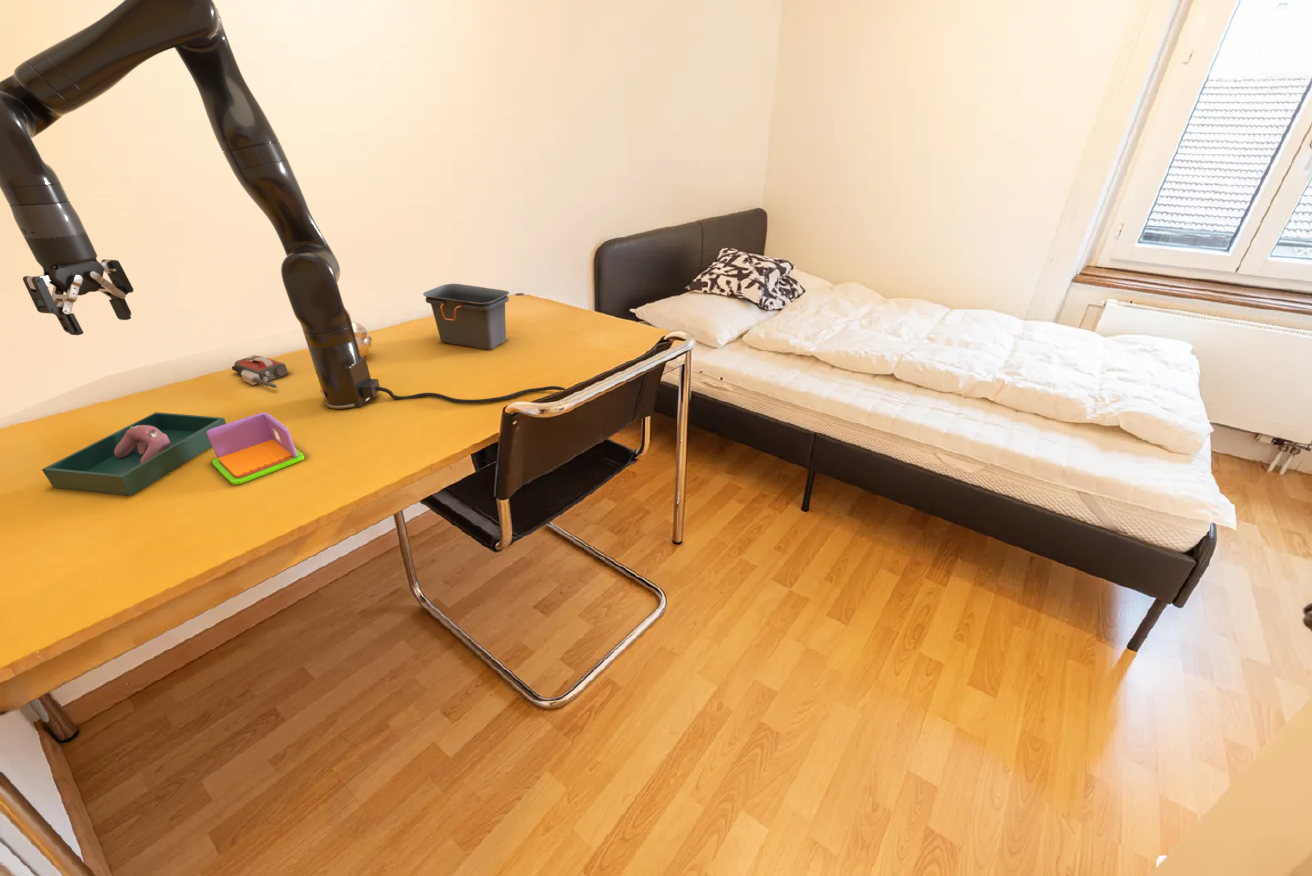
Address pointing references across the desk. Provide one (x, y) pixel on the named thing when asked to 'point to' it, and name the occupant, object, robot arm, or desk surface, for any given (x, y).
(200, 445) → the tray
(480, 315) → the storage bin
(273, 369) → the walkie-talkie
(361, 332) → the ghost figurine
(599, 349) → the desk surface
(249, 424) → the dollhouse room
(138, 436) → the video game controller
